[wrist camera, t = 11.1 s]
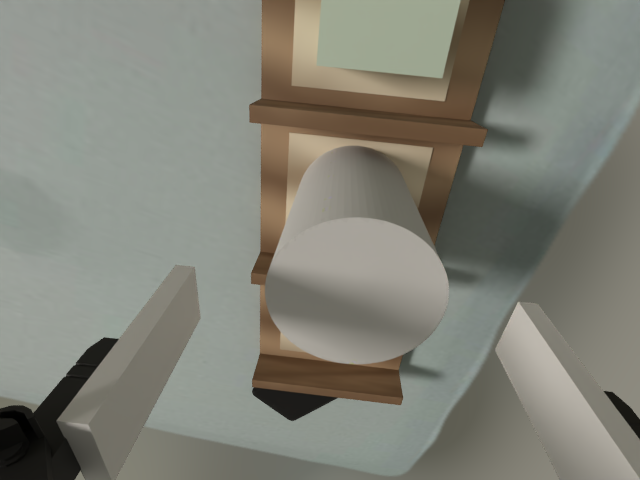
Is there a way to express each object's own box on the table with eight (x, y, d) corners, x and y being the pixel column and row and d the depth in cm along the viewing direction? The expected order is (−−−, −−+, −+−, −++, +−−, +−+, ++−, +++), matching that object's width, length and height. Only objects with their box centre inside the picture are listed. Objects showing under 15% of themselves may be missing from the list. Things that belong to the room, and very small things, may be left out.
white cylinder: (276, 203, 26) (230, 302, 16) (348, 120, 23) (350, 175, 13) (353, 264, 29) (357, 386, 18) (429, 196, 25) (488, 298, 15)
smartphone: (393, 369, 35) (291, 423, 41) (392, 363, 36) (292, 416, 42) (350, 331, 33) (249, 393, 39) (350, 325, 34) (250, 387, 39)
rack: (267, -145, 18) (246, -199, 14) (531, -122, 18) (582, -170, 14) (262, 351, 36) (252, 387, 32) (395, 367, 36) (400, 405, 32)
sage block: (334, -61, 19) (329, -106, 13) (444, -50, 19) (482, -92, 13) (324, 62, 22) (316, 65, 16) (419, 72, 21) (442, 78, 16)
